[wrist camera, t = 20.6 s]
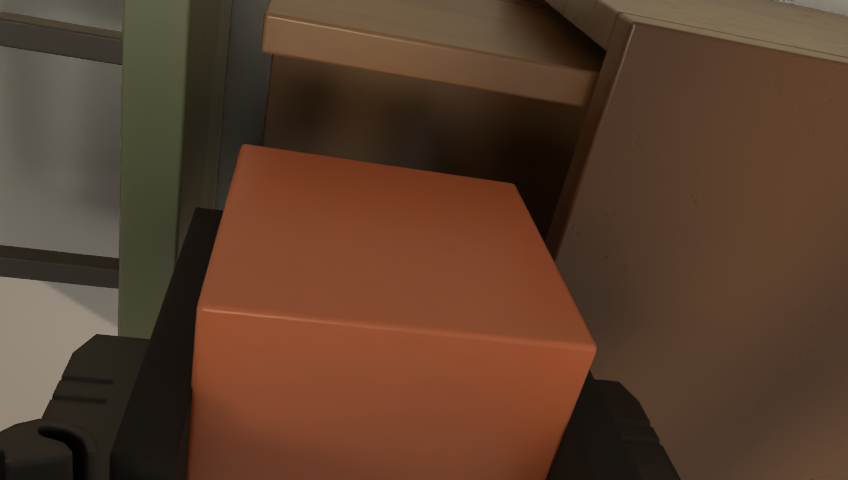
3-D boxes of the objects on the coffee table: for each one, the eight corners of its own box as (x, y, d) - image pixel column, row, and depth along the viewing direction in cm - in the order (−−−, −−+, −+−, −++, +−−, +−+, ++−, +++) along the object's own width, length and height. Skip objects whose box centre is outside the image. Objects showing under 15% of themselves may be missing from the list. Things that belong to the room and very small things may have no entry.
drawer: (-14, 245, 24) (-150, 413, 17) (-47, -145, 18) (-261, -126, 12) (548, 308, 28) (620, 466, 21) (654, -1, 22) (795, 77, 16)
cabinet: (429, 296, 28) (473, 497, 19) (517, -55, 22) (632, 20, 14) (770, 333, 31) (935, 524, 22) (927, 33, 25) (1229, 139, 17)
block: (219, 367, 17) (175, 586, 12) (241, 141, 14) (195, 305, 9) (455, 388, 18) (501, 597, 13) (515, 182, 15) (600, 347, 10)
